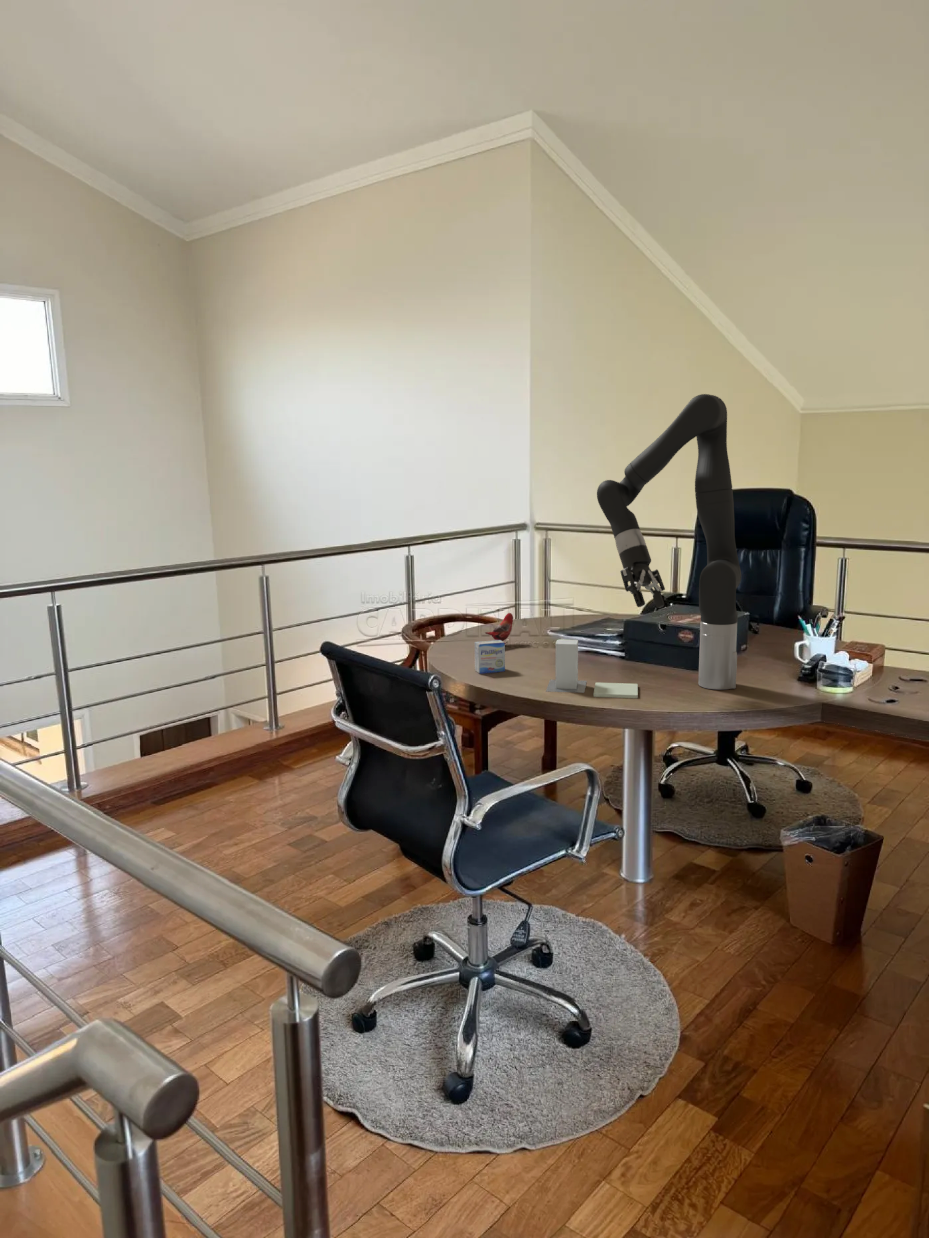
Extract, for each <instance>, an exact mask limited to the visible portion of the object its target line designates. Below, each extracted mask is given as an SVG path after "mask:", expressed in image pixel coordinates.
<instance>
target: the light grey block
mask: <svg viewBox="0 0 929 1238" xmlns="http://www.w3.org/2000/svg"><path fill="white" fill-rule="evenodd" d="M555 680H556V681H555V688H562V689H577V685H578V680H579V640H578V639H557V640H556V641H555Z"/></svg>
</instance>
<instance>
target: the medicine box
mask: <svg viewBox="0 0 929 1238" xmlns="http://www.w3.org/2000/svg"><path fill="white" fill-rule="evenodd" d="M505 643H506V642H505ZM505 643H504V641H501V640H495V639H494V640H485V641H474V643H473V644H474V670H475V671H476V672H477V673H478V674H479V675H483V674H485V675H486V674H493V673H500V672H501V673H502V672H506V647H505V646H506V644H505Z"/></svg>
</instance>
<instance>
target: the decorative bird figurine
mask: <svg viewBox="0 0 929 1238" xmlns="http://www.w3.org/2000/svg"><path fill="white" fill-rule="evenodd" d="M502 619H503V620H502V621H501V622H500V623H499V624H497V626H496V627H494V629H493V630H492V631H487V632H484V633H485V634H486V635H488V636H489V635H490V636H491V637H492V639H494V641H495V640H501V641H503V642H504V641H506V640H507V639H508V638H509V636H510V635H511V633H512V629H513V628H512V627H513V624H514V615H513V614H512V612H508V613H507V614H505V616H504V617H503V618H502ZM504 643H505V645H506V644H507V643H508V641H507V642H504Z"/></svg>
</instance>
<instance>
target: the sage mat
mask: <svg viewBox="0 0 929 1238" xmlns="http://www.w3.org/2000/svg"><path fill="white" fill-rule="evenodd" d="M594 683H595V684H594V690H593V697H594V698H613V699H614V698H618V699H639V697H638V693H639V690H638V686H639V685H638V683H625V682H624V683H622V682H619V683H618V682H594Z"/></svg>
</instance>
